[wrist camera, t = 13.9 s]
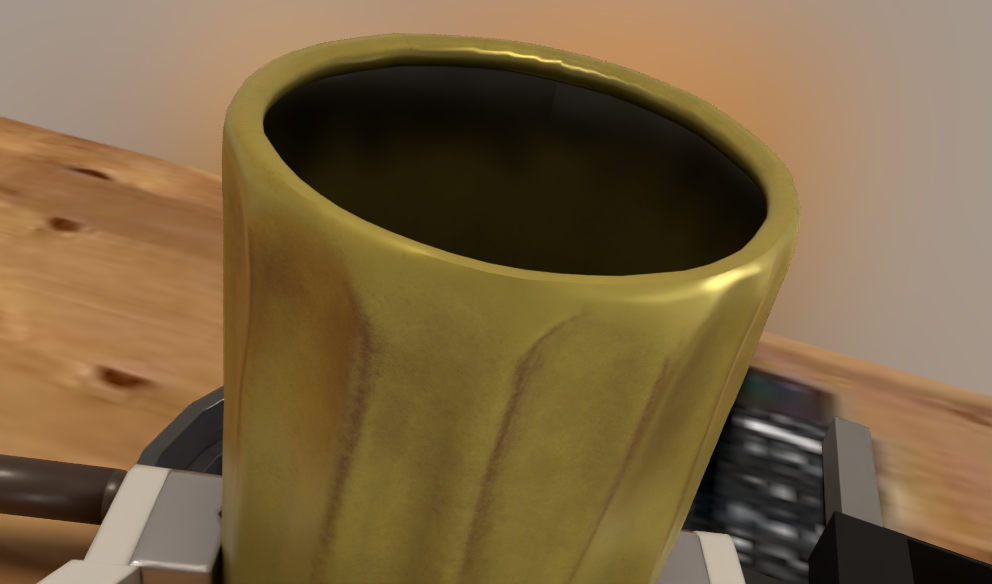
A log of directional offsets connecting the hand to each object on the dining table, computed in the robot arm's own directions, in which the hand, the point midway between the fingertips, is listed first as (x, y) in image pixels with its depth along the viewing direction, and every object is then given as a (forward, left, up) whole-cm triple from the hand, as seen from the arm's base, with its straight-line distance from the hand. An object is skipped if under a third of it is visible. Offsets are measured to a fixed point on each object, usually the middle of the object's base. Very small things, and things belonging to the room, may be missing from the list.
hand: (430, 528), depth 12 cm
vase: (0, +1, -8) cm, 8 cm away
